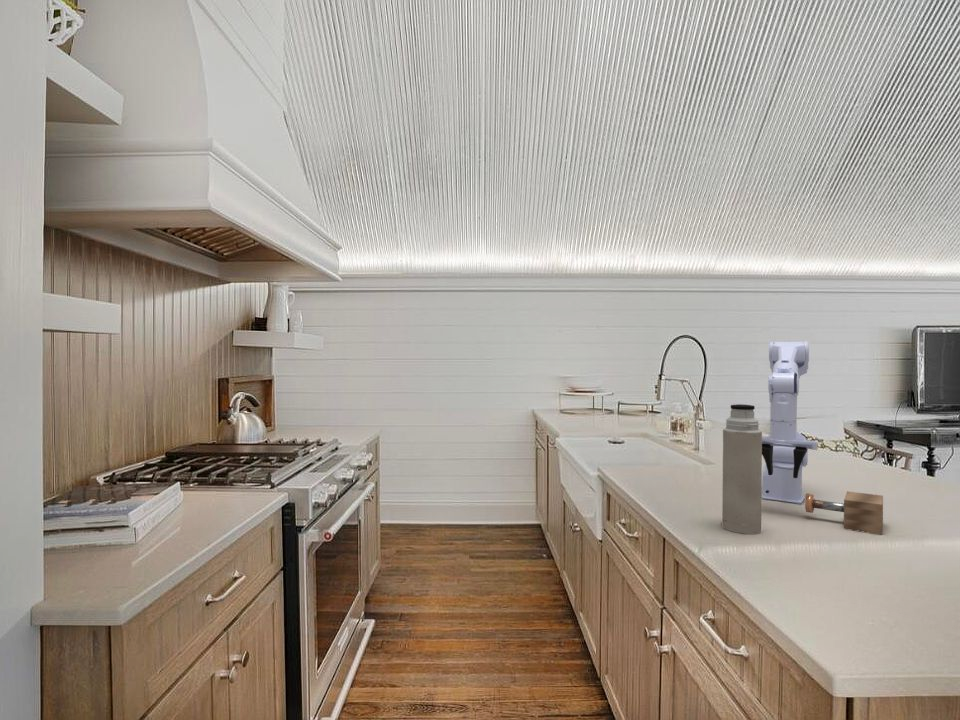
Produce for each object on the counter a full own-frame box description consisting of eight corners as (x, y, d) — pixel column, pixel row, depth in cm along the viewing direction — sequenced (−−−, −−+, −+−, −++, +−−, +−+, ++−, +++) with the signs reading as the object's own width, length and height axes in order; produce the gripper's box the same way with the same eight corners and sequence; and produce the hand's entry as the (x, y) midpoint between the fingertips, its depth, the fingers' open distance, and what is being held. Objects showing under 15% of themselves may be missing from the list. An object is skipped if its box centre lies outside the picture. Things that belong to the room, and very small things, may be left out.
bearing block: (843, 528, 126) (844, 499, 126) (846, 518, 134) (847, 491, 134) (882, 534, 121) (882, 504, 121) (882, 523, 129) (883, 495, 129)
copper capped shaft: (805, 513, 133) (805, 495, 133) (807, 509, 136) (807, 491, 136) (863, 522, 126) (863, 503, 126) (864, 518, 129) (864, 499, 129)
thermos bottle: (720, 521, 131) (721, 402, 130) (758, 525, 128) (759, 403, 128) (723, 531, 123) (724, 405, 123) (763, 535, 120) (764, 406, 120)
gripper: (747, 420, 138) (747, 474, 139) (815, 424, 130) (815, 482, 130) (753, 417, 144) (753, 470, 144) (818, 422, 135) (818, 477, 135)
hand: (782, 476), depth 137 cm, fingers open, 5 cm apart
